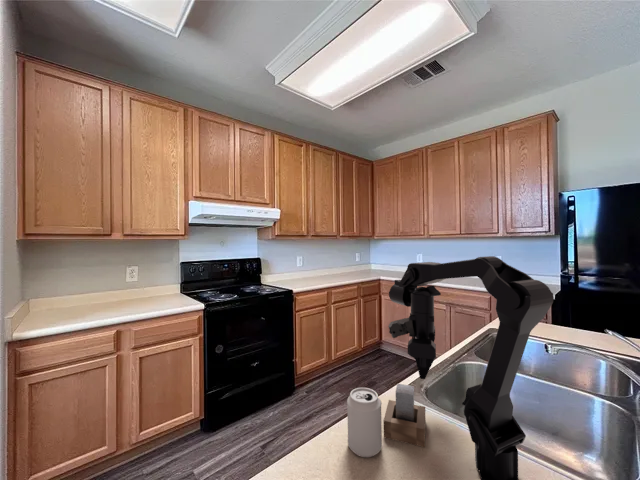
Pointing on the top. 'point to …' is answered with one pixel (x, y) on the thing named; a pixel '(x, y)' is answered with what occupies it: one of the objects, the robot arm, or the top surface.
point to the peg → (405, 402)
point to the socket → (405, 426)
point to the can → (364, 422)
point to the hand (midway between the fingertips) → (423, 370)
